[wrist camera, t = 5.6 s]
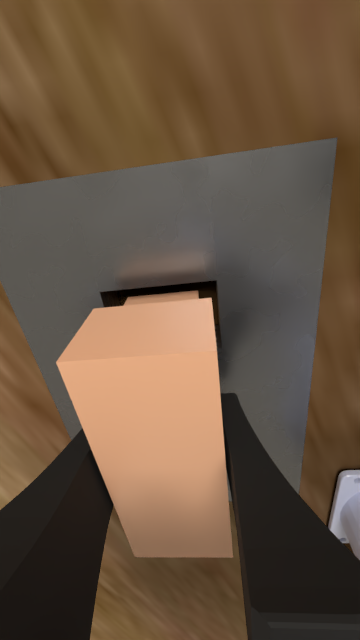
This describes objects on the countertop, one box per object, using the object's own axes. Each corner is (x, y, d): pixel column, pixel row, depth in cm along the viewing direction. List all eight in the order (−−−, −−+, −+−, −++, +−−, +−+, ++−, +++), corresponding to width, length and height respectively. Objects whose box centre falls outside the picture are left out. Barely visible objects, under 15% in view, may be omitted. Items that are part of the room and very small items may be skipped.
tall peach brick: (208, 272, 12) (217, 350, 7) (222, 440, 16) (233, 557, 12) (112, 281, 12) (56, 362, 7) (153, 443, 17) (134, 557, 12)
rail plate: (313, 142, 10) (337, 137, 8) (288, 468, 19) (298, 500, 17) (-3, 188, 11) (-39, 192, 10) (108, 473, 20) (99, 503, 18)
